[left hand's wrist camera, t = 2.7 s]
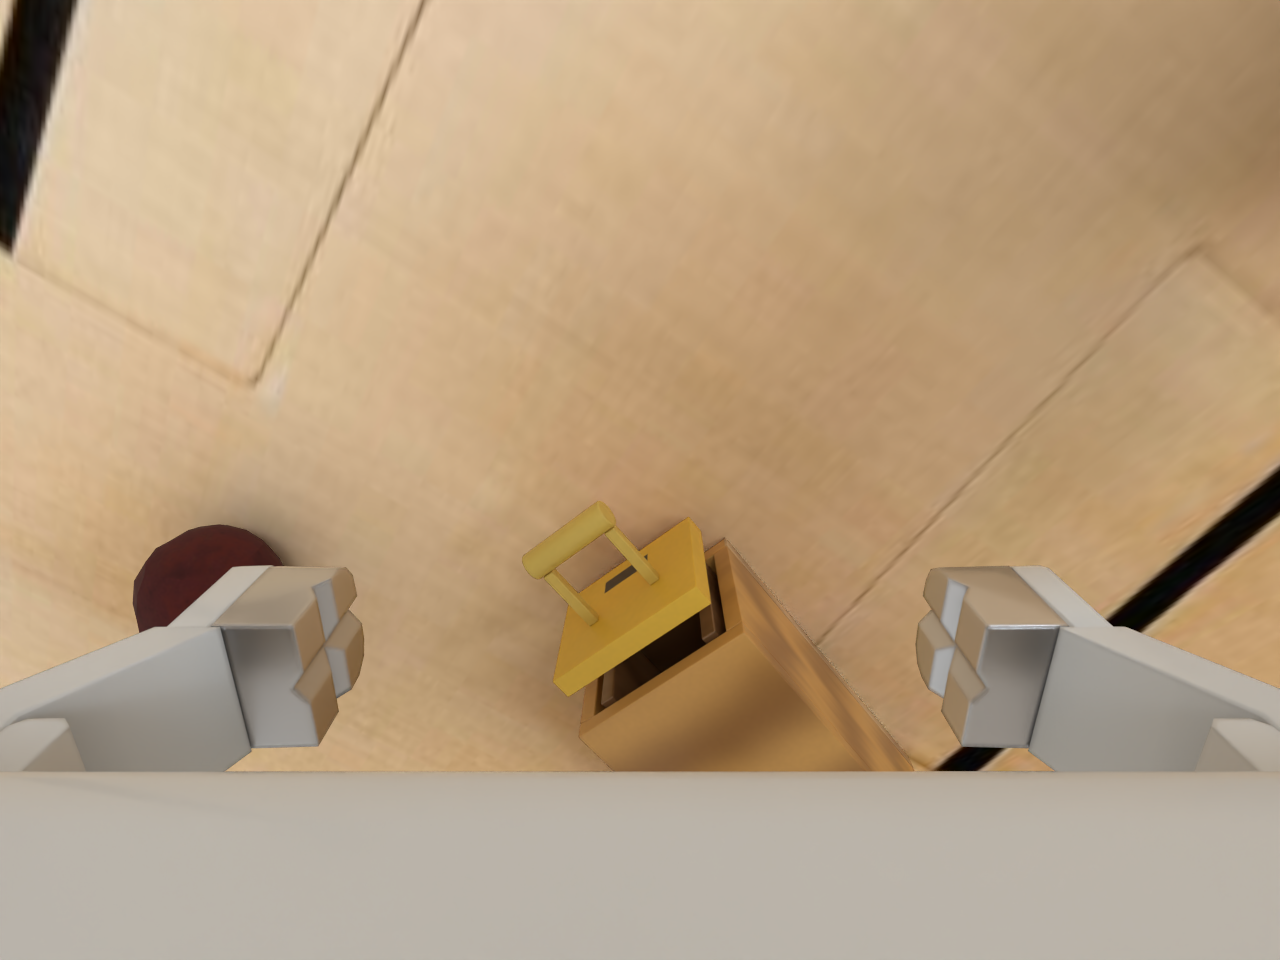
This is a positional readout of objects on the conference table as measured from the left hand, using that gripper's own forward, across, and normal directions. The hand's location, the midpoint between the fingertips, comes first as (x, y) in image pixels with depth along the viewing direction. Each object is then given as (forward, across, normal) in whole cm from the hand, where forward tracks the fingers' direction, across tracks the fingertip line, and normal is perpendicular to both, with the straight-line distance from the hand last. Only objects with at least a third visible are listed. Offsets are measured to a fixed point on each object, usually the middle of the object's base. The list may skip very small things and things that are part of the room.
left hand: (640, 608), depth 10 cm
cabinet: (+28, -7, +24) cm, 38 cm away
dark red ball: (+29, +23, +15) cm, 40 cm away
